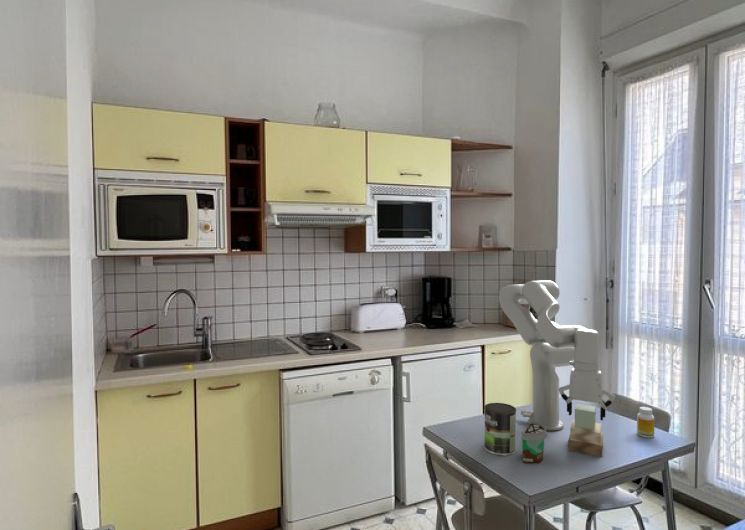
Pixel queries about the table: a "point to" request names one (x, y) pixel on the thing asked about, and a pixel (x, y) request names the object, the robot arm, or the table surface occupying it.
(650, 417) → the supplement bottle
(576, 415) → the sage block
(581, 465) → the table surface
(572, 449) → the walnut block
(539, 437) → the food container
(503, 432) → the coffee can
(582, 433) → the maple block
